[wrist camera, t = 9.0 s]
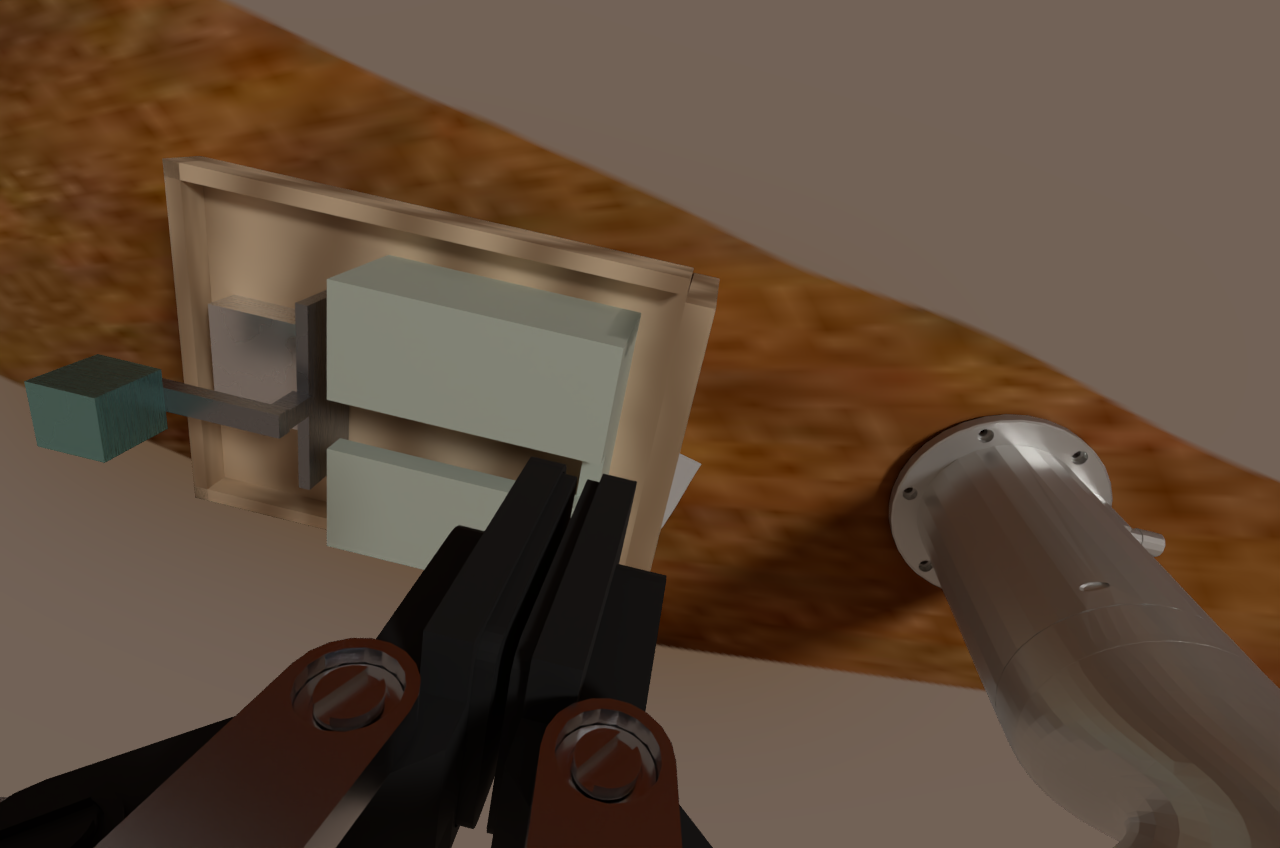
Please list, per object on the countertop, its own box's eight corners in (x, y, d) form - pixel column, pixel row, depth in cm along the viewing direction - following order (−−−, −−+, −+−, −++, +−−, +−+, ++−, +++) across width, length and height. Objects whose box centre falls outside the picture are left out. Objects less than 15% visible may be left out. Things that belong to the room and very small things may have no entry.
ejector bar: (354, 287, 35) (218, 348, 26) (351, 457, 39) (233, 560, 30) (196, 251, 35) (7, 297, 26) (210, 423, 40) (51, 514, 30)
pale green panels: (641, 312, 34) (623, 348, 29) (594, 543, 40) (572, 606, 35) (388, 254, 34) (326, 278, 29) (379, 490, 40) (326, 545, 35)
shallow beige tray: (725, 252, 39) (722, 286, 31) (657, 527, 47) (641, 607, 39) (273, 150, 40) (162, 158, 32) (282, 436, 48) (195, 497, 40)
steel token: (342, 319, 36) (321, 330, 34) (341, 420, 39) (321, 435, 37) (234, 294, 36) (207, 303, 35) (240, 396, 39) (216, 410, 37)
